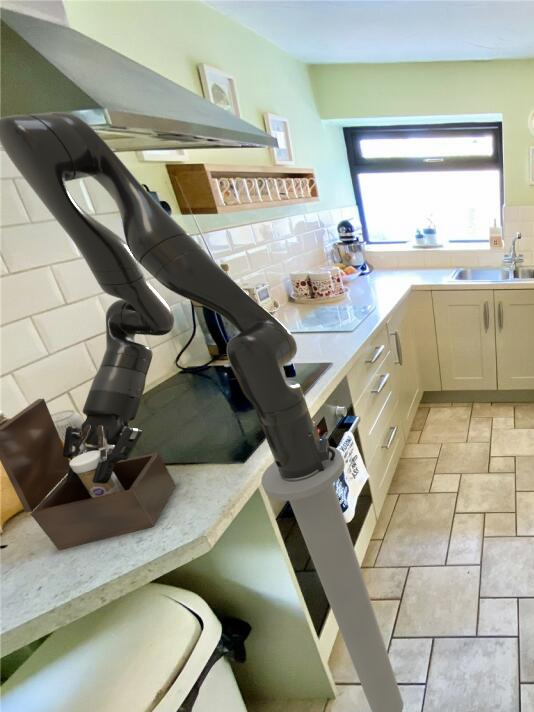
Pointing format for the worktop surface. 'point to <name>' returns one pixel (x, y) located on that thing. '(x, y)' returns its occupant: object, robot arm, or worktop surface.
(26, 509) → the chest lid
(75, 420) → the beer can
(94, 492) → the sprinkles bottle
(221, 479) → the worktop surface
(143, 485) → the chest
